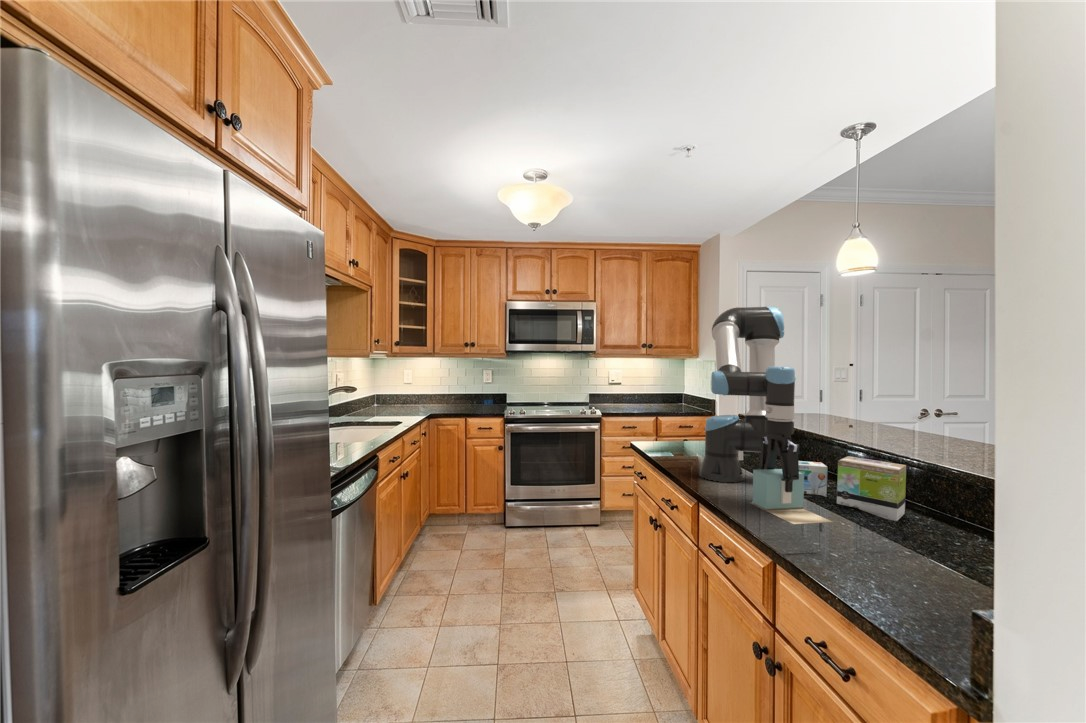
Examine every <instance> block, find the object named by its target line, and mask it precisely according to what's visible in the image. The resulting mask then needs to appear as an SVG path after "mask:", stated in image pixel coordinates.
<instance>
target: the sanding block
mask: <svg viewBox="0 0 1086 723" xmlns="http://www.w3.org/2000/svg"><path fill="white" fill-rule="evenodd" d="M752 471H753V472H752V474H753V475H752V503H753V504H754V505H753V504H752V505H753V506H755V505H756V506H755V507H757V506H758V507H757V508H759V507H760V508H759V509H761V508H762V509H761V510H763V509H764V510H763V511H765V510H784V509H804V504H805V503H804V502H805V501H804V496H805V495H804V473H801V472H799V479H798V480H793V488H792V489H793V490H792V492H791V503H781V480H782V479H784V478H783V472H782V468H774V469H764V470H761V469H753V470H752Z"/></svg>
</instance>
